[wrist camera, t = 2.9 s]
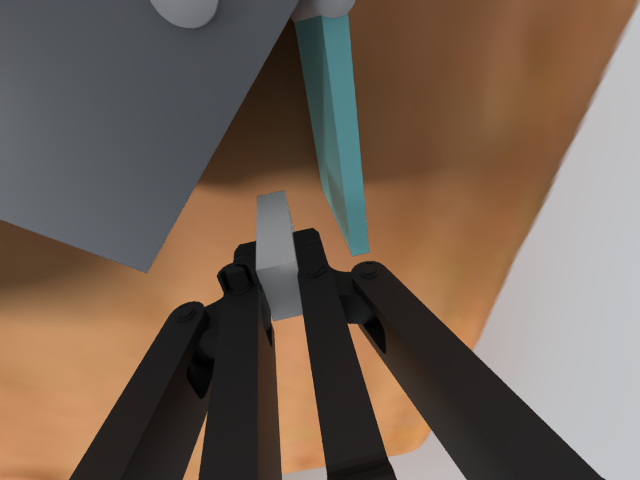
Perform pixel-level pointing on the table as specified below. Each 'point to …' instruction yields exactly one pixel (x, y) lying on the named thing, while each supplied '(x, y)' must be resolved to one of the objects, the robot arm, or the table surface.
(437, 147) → the table surface
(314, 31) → the teal flat slab
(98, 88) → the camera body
